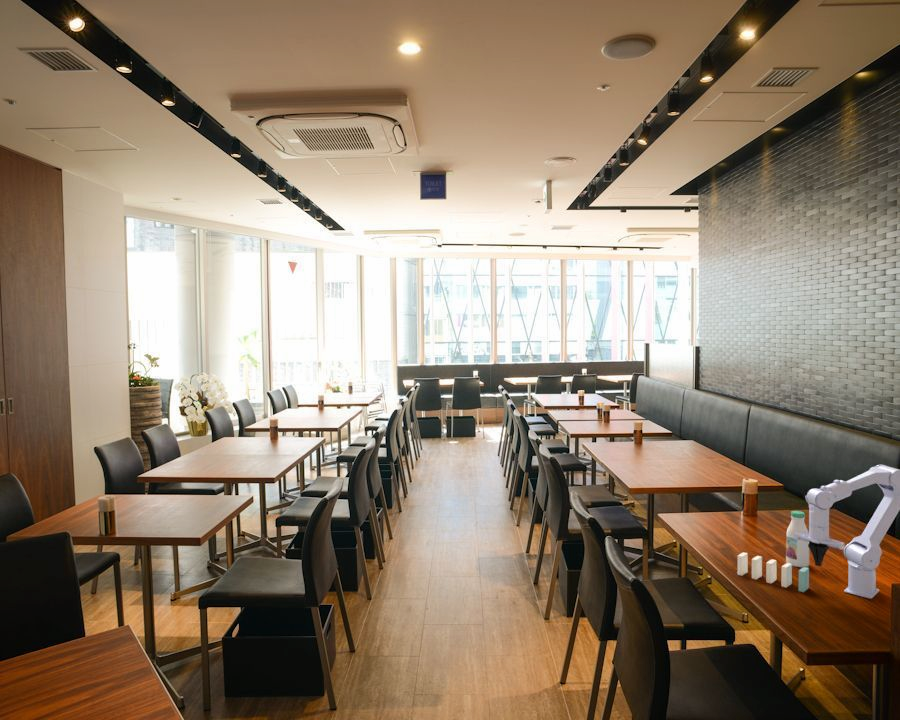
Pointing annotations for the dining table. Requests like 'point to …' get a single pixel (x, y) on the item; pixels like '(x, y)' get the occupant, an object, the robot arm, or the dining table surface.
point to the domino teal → (803, 579)
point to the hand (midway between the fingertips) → (818, 565)
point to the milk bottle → (797, 541)
